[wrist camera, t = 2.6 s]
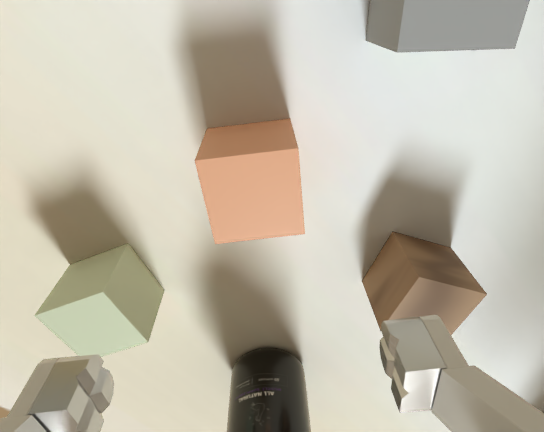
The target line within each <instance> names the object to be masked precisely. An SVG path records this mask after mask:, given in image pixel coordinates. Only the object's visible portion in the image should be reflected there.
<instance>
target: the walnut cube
mask: <svg viewBox="0 0 544 432" xmlns="http://www.w3.org/2000/svg"><path fill="white" fill-rule="evenodd" d="M362 282H363V285H364V288H365V290H366V293H367V296H368V298H369V301H370V304H371V307H372V309H373V312H374V315H375V317H376V320H377V323H378V325H379V328H380V331H381V324H382V322H383V321H386V320H394V319H402V318H409V317H421V316H429V315H438V316H439V317H440V318H441V320H442V321H443V323H444V325H445V326H446V328H447V330H448V332H449V333H450V335H452V334H453V332H454V331H455V330H456V329H457V328H458V327H459V326H460V324H461V323H462V322H463V321H464V320H465V319H466V318H467V317H468V315H469V314H470V313H471V312H472V311H473V310H474V309H475V307H476V306H477V305H478V304H479V303H480V302H481V301H482V299H483V298H484V297H485V296H486V295H487V293H486V292H485V291H484V290H483V288H482V287H481V286H480V284H479V283H478V282H477V281H476V279H475V278H474V277H473V276H472V274H471V273H470V272H469V270H468V269H467V268H466V267H465V265H464V264H463V263H462V261H461V260H460V259H459V258H458V256H457V255H456V254H455V252H454V251H453V250H452V249H451V248H450V247H447V246H443V245H439V244H436V243H432V242H429V241H425V240H421V239H418V238H414V237H411V236H407V235H403V234H400V233H396V232H392V233H391V235H390V236H389V238H388V240H387V241H386V243H385V245H384V246H383V248H382V249H381V251H380V253H379V254H378V256H377V258H376V259H375V261H374V262H373V264H372V266H371V267H370V269H369V271H368V272H367V274H366V275H365V277H364V279H363V280H362Z"/></svg>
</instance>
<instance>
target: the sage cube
mask: <svg viewBox="0 0 544 432" xmlns="http://www.w3.org/2000/svg"><path fill="white" fill-rule="evenodd" d="M163 293H164V289H163V288H162V287H161V285H160V284H159V283H158V281H157V280H156V279H155V278H154V276H153V275H152V274H151V272H150V271H149V270H148V268H147V267H146V266H145V265H144V263H143V262H142V261H141V259H140V258H139V257H138V255H137V254H136V253H135V251H134V250H133V249H132V248H131V246H130V245H129V244H125V245H122V246H119V247H117V248H114V249H111V250H109V251H106V252H103V253H100V254H98V255H95V256H92V257H90V258H87V259H84V260H81V261H79V262H76V263H73V264H71V265H69V267H68V268H67V270H66V271H65V273H64V274H63V276H62V277H61V278H60V280H59V281H58V283H57V284H56V286H55V287H54V288H53V290H52V291H51V293H50V294H49V296H48V297H47V298H46V300H45V301H44V303H43V304H42V306H41V307H40V308H39V310H38V311H37V313H36V314H35V317H36V318H38V319H39V320H40V321H41V322H42V323H43V324H44V325H45V326H46V327H47V328H49V329H50V330H51V331H52V332H53V333H54V334H55V335H56V336H57V337H58V338H60V339H61V340H62V341H63V342H64V343H65V344H66V345H67V346H68V347H69V348H71V349H72V350H73V351H74V352H75V353H76V354H77V355H78V356H85V355H96V354H99V355H100V357H103V356H106V355H109V354H112V353H115V352H119V351H122V350H125V349H128V348H131V347H135V346H138V345H141V344H144V343H147V342H148V341H149V338H150V335H151V332H152V329H153V325H154V322H155V319H156V316H157V313H158V309H159V306H160V303H161V300H162V297H163Z"/></svg>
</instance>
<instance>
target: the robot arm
mask: <svg viewBox="0 0 544 432" xmlns="http://www.w3.org/2000/svg"><path fill="white" fill-rule="evenodd" d="M381 331H382V334H383V338H382V339H381V340H380V354H381V360H382V363H383V367H384V370H385V373H386V374H387V375H388V376H389V377H390V378H392V386H391V390H392V393H393V395H394V398H395V401H396V404H397V406H398V409H399V412H400V413H402V412H414V411H427V410H432V413H433V414H434V415H435V416H436V417H437V418H438V419H439V420H440V421H441V422H442V423H443V424H444V425H445V426H446V427H447V428H448V429H449V430H450V431H451V432H544V413H543V412H542V411H540V410H539V409H537V408H536V407H534V406H533V405H531V404H530V403H528V402H527V401H525V400H524V399H523V398H521V397H520V396H518V395H517V394H515V393H514V392H512V391H511V390H509V389H508V388H507V387H505V386H504V385H502V384H501V383H499V382H498V381H496V380H495V379H493V378H492V377H491V376H489V375H488V374H486V373H485V372H483V371H482V370H480V369H479V368H477V367H476V366H469V365H468V364H467V362H466V360H465V359H464V357H463V355H462V353H461V352H460V350H459V348H458V347H457V345H456V343H455V342H454V340H453V338H452V337H451V335H450V333H449V332H448V330H447V328H446V326H445V325H444V323H443V321H442V320H441V318H440V317H439V316H438V315H429V316H421V317H409V318H402V319H394V320H386V321H383V322H382V324H381ZM103 362H104V361H103V360H102V358H101V357H100V355H99V354H96V355H85V356H73V357H62V358H52V359H44V360H42V361H41V362H40V363H39V364H38V365H37V366H36V368H35V370H34V372H33V373H32V375H31V377H30V378H29V380H28V382H27V384H26V385H25V387H24V389H23V390H22V392H21V394H20V395H19V397H18V399H17V401H16V402H15V404H14V406H13V407H12V409H11V411H10V413H9V414H8V416H7V417H6V418H1V419H0V432H100V431H101V428H102V425H103V422H104V419H103V416H102V412H103V411H104V410H105V409H106V408H107V407H108V406H109V405H110V402H111V399H112V396H113V388H114V382H113V377H112V375H111V373H110V371H109V370H107V369H105V368H103V367H102V364H103Z"/></svg>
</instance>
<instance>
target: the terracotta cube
mask: <svg viewBox="0 0 544 432" xmlns="http://www.w3.org/2000/svg"><path fill="white" fill-rule="evenodd" d="M195 164H196V168H197V172H198V176H199V180H200V184H201V188H202V192H203V196H204V200H205V204H206V209H207V213H208V217H209V221H210V225H211V229H212V233H213V237H214V241H215V244H220V243H229V242H237V241H246V240H255V239H264V238H273V237H282V236H290V235H299V234H305V229H304V216H303V203H302V190H301V177H300V164H299V151H298V145H297V142H296V138H295V135H294V131H293V128H292V124H291V120H290V118H289V119H281V120H273V121H265V122H257V123H249V124H240V125H232V126H224V127H216V128H208V129H207V130H206V133H205V135H204V138H203V140H202V143H201V146H200V148H199V151H198V153H197V156H196V159H195Z"/></svg>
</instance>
